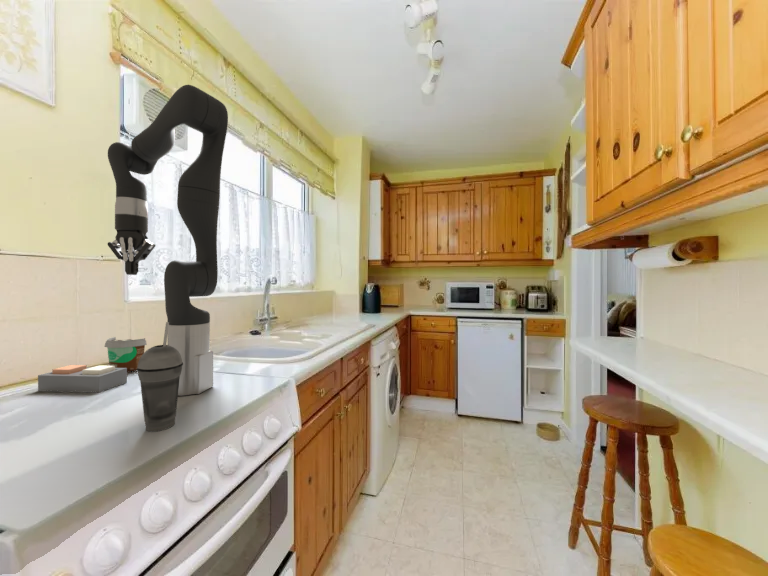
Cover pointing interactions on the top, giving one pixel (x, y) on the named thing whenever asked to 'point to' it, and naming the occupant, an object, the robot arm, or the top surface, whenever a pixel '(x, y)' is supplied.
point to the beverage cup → (160, 384)
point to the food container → (125, 352)
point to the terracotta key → (69, 369)
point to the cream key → (98, 370)
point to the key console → (81, 381)
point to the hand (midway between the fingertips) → (131, 274)
